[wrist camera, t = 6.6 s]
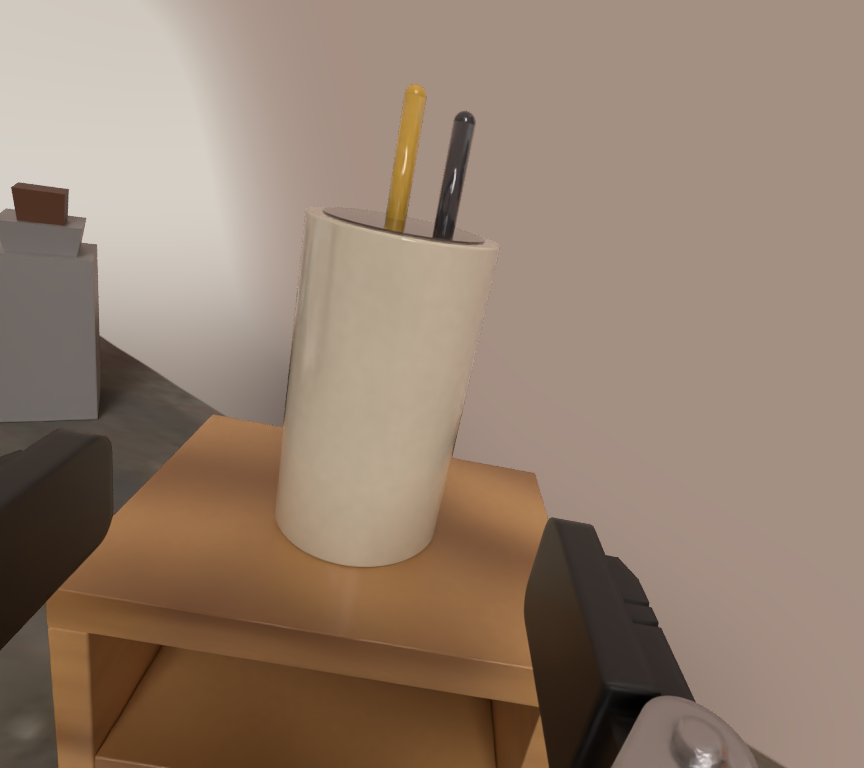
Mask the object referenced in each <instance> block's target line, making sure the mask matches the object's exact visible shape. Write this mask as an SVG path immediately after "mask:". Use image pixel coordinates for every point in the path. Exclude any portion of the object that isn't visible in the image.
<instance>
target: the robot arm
mask: <svg viewBox="0 0 864 768" xmlns="http://www.w3.org/2000/svg"><path fill="white" fill-rule="evenodd" d="M112 517H113V465H112V445H111V442H110V440H109V439H108V438H107V437H106V436H102V435H97V434H91V433H86V432H80V431H74V430H69V429H63V428H62V429H57V430H55V431H53V432H51V433H50V434H48V435H47V436H45V437H44V438H42V439H41V440H39V441H37V442H36V443H34V444H33V445H31V446H30V447H28V448H27V449H25V450H24V451H23V450H18V451H15V452H13V453H10V454H7V455H4V456H1V457H0V650H1V649H2V648H3V647H4V646H5V645H6V644H7V643H8V642H9V641H10V639H11V638H12V637H13V636H14V635H15V634H16V633H17V632H18V631H19V630H20V629H21V628H22V627H23V626H24V625H25V624H26V623H27V621H28V620H29V619H30V618H31V617H32V616H33V615H34V614H35V613H36V612H37V611H38V610H39V609H40V608H41V607H42V606H43V605H44V604H45V602H46V601H47V600H48V599H49V598H50V597H51V596H52V595H53V594H54V593H55V592H56V591H57V590H58V589H59V588H60V587H61V586H62V584H63V583H64V582H65V581H66V580H67V579H68V578H69V577H70V576H71V575H72V574H73V573H74V572H75V571H76V570H77V569H78V568H79V566H80V565H81V564H82V563H83V562H84V561H85V560H86V559H87V558H88V557H89V556H90V555H91V554H92V553H93V552H94V551H95V550H96V548H97V547H98V546H99V545H100V544H101V543H102V541H103V540H104V538H105V536H106V534H107V532H108V530H109V527H110V525H111V521H112ZM524 620H525V626H526V632H527V638H528V644H529V650H530V656H531V662H532V668H533V674H534V680H535V686H536V692H537V698H538V704H539V710H540V716H541V722H542V728H543V734H544V740H545V746H546V752H547V758H548V764H549V768H758V766H757V763H756V761H755V759H754V757H753V755H752V753H751V751H750V750H749V748H748V747H747V745H746V743H745V742H744V741H743V740H742V738H741V737H740V736H739V735H738V734H737V733H736V732H735V731H734V729H732V727H731V726H729V725H728V724H727V723H726V722H725V721H724V720H723V719H721V718H720V717H719V716H717V715H716V714H715V713H713V712H712V711H710V710H709V709H707V708H705V707H703V706H702V705H700V704H698V703H696V702H695V700H694V698H693V696H692V693H691V691H690V689H689V687H688V685H687V683H686V680H685V679H684V676H683V674H682V672H681V670H680V668H679V666H678V663H677V661H676V659H675V657H674V655H673V653H672V650H671V648H670V646H669V644H668V642H667V640H666V638H665V635H664V633H663V631H662V629H661V628H659V627H658V620H657V618H656V616H655V614H654V612H653V610H652V608H651V607H649V601H648V599H647V597H646V595H645V592H644V590H643V588H642V586H641V584H640V582H639V579H637V577H636V576H635V575H634V574H633V573H632V572H631V571H630V570H629V569H628V568H627V567H626V566H625V565H624V563H623V562H622V561H621V560H620V559H619V558H618V557H612V556H607V555H605V553H604V551H603V548H602V546H601V543H600V541H599V538H598V536H597V533H596V531H595V529H594V527H593V526H592V525H590V524H585V523H580V522H575V521H569V520H563V519H557V518H550V519H549V520H548V521H547V523H546V525H545V528H544V531H543V535H542V538H541V541H540V544H539V547H538V551H537V554H536V557H535V560H534V563H533V567H532V570H531V573H530V576H529V580H528V583H527V587H526V592H525V599H524Z"/></svg>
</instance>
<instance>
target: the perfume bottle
mask: <svg viewBox="0 0 864 768" xmlns="http://www.w3.org/2000/svg"><path fill="white" fill-rule="evenodd" d="M11 189H12V194H13V200H14V206H15V210H13V209H5V210H3V211H2V212H1V213H0V422H25V421H57V420H89V419H98V410H99V400H100V389H101V380H100V342H99V304H98V269H97V245H96V244H87V243H81V241H82V236H83V232H84V227H85V222H86V218H82V217H74V216H68V192H69V189H63V188H55V187H47V186H40V185H33V184H26V183H17V184H15V185H14V186H12V187H11Z"/></svg>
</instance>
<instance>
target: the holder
mask: <svg viewBox="0 0 864 768" xmlns="http://www.w3.org/2000/svg"><path fill="white" fill-rule="evenodd" d="M425 104H426V91H425V89H424V88H423V87H422V86H421V85H419V84H411V85H410V86H408V87H407V89H406V91H405V94H404V100H403V107H402V113H401V120H400V126H399V133H398V139H397V146H396V152H395V159H394V165H393V172H392V178H391V185H390V192H389V198H388V204H387V211H386V213H381V212H375V211H368V210H361V209H352V208H342V207H331V206H313V207H309V208H307V209H306V211H305V220H304V230H303V239H302V249H301V259H300V269H299V278H298V288H297V298H296V307H295V317H294V326H293V337H292V346H291V356H290V365H289V376H288V386H287V394H286V404H285V414H284V423H283V433H282V443H281V453H280V462H279V472H278V482H277V491H276V501H275V519H276V522H277V524H278V527H279V528H280V530H281V532H282V533H283V535H284V536H285V537H286V538H287V539H288V540H289V541H290V542H291V543H292V544H293V545H295V546H296V547H297V548H299V549H300V550H302V551H304V552H305V553H307V554H309V555H311V556H313V557H316V558H318V559H321V560H323V561H327V562H330V563H334V564H339V565H344V566H351V567H381V566H387V565H392V564H396V563H399V562H403V561H405V560H407V559H410V558H412V557H413V556H415V555H417V554H418V553H420V552H421V551H422V550H423V549H425V547H426V546H427V545H428V544H429V543H430V541H431V540H432V538H433V536H434V533H435V530H436V525H437V521H438V517H439V512H440V508H441V503H442V499H443V495H444V490H445V486H446V482H447V477H448V473H449V468H450V464H451V460H452V455H453V451H454V446H455V442H456V438H457V433H458V429H459V425H460V420H461V416H462V411H463V407H464V403H465V398H466V394H467V389H468V385H469V381H470V377H471V372H472V368H473V363H474V359H475V355H476V350H477V346H478V342H479V337H480V332H481V328H482V324H483V320H484V315H485V311H486V306H487V302H488V298H489V293H490V289H491V285H492V280H493V276H494V271H495V267H496V263H497V258H498V254H499V250H500V247H499V245H498V244H497V243H496V242H494V241H492V240H490V239H488V238H485V237H483V236H480V235H476V234H473V233H470V232H467V231H463V230H460V229H456V228H455V226H456V221H457V216H458V211H459V206H460V201H461V196H462V190H463V186H464V181H465V176H466V170H467V165H468V159H469V155H470V150H471V145H472V140H473V135H474V130H475V124H476V123H475V118H474V116H473V114H472V113H470V112H468V111H461V112H459V113H458V114H457V115H456V116H455V118H454V121H453V126H452V132H451V137H450V142H449V148H448V154H447V159H446V164H445V170H444V175H443V180H442V186H441V191H440V196H439V202H438V207H437V213H436V218H435V223H432V222H428V221H424V220H419V219H414V218H409V217H407V212H408V206H409V200H410V194H411V188H412V182H413V176H414V170H415V164H416V158H417V152H418V146H419V140H420V134H421V128H422V122H423V116H424V110H425Z"/></svg>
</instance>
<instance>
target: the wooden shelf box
mask: <svg viewBox="0 0 864 768" xmlns="http://www.w3.org/2000/svg"><path fill="white" fill-rule="evenodd" d="M282 433H283V427H278V426H273V425H268V424H262V423H257V422H251V421H245V420H240V419H235V418H230V417H224V416H219V415H212V416H211V417H210V418H209V419H208V420H207V421H206V422H205V423H204V424H203V425H202V426H201V427H200V428H199V429H198V430H197V431H196V432H195V433H194V434H193V435H192V436H191V437H190V438H189V439H188V440H187V441H186V442H185V443H184V445H183V446H182V447H181V448H180V449H179V450H178V451H177V452H176V453H175V454H174V455H173V456H172V457H171V458H170V459H169V460H168V461H167V462H166V463H165V464H164V465H163V466H162V467H161V468H160V469H159V470H158V471H157V472H156V473H155V474H154V475H153V476H152V477H151V478H150V479H149V480H148V481H147V482H146V483H145V484H144V485H143V486H142V487H141V488H140V489H139V490H138V491H137V493H136V494H135V495H134V496H133V497H132V498H131V499H130V500H129V501H128V502H127V503H126V504H125V505H124V506H123V507H122V508H121V509H120V510H119V511H118V512H117V513H116V514H115V515H114V516H113V517H112V521H111V525H110V527H109V530H108V532H107V534H106V536H105V538H104V540H103V541H102V543H101V544H100V545H99V546H98V547H97V548H96V550H95V551H94V552H93V553H92V554H91V555H90V556H89V557H88V558H87V559H86V560H85V561H84V562H83V563H82V564H81V565H80V566H79V568H78V569H77V570H76V571H75V572H74V573H73V574H72V575H71V576H70V577H69V578H68V579H67V580H66V581H65V582H64V583H63V584H62V586H61V587H60V588H59V589H58V590H57V591H56V592H55V593H54V594H53V595H52V596H51V597H50V598H49V599H48V600H47V601H46V615H47V625H48V626H49V627H48V637H49V650H50V663H51V676H52V690H53V703H54V716H55V729H56V742H57V755H58V768H549V764H548V758H547V752H546V746H545V740H544V734H543V728H542V722H541V716H540V710H539V704H538V698H537V692H536V686H535V680H534V674H533V668H532V662H531V656H530V650H529V644H528V638H527V632H526V626H525V620H524V599H525V592H526V587H527V583H528V580H529V576H530V573H531V570H532V567H533V563H534V560H535V557H536V554H537V551H538V547H539V544H540V541H541V538H542V535H543V531H544V528H545V525H546V523H547V521H548V517H547V513H546V510H545V506H544V503H543V499H542V496H541V493H540V489H539V486H538V483H537V479H536V475H535V474H534V473H531V472H526V471H520V470H515V469H509V468H504V467H498V466H493V465H487V464H482V463H476V462H470V461H465V460H460V459H454V458H452V460H451V464H450V468H449V473H448V477H447V482H446V486H445V490H444V495H443V499H442V503H441V508H440V512H439V517H438V521H437V525H436V530H435V533H434V536H433V538H432V540H431V541H430V543H429V544H428V545H427V546H426V547H425V549H423V550H422V551H421V552H420V553H418V554H417V555H415V556H413V557H412V558H410V559H407V560H405V561H403V562H399V563H396V564H392V565H387V566H381V567H351V566H344V565H339V564H334V563H330V562H327V561H323V560H321V559H318V558H316V557H313V556H311V555H309V554H307V553H305V552H304V551H302V550H300V549H299V548H297V547H296V546H295V545H293V544H292V543H291V542H290V541H289V540H288V539H287V538H286V537H285V536H284V535H283V533H282V532H281V530H280V528H279V527H278V524H277V522H276V519H275V501H276V491H277V482H278V472H279V462H280V453H281V443H282Z"/></svg>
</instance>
